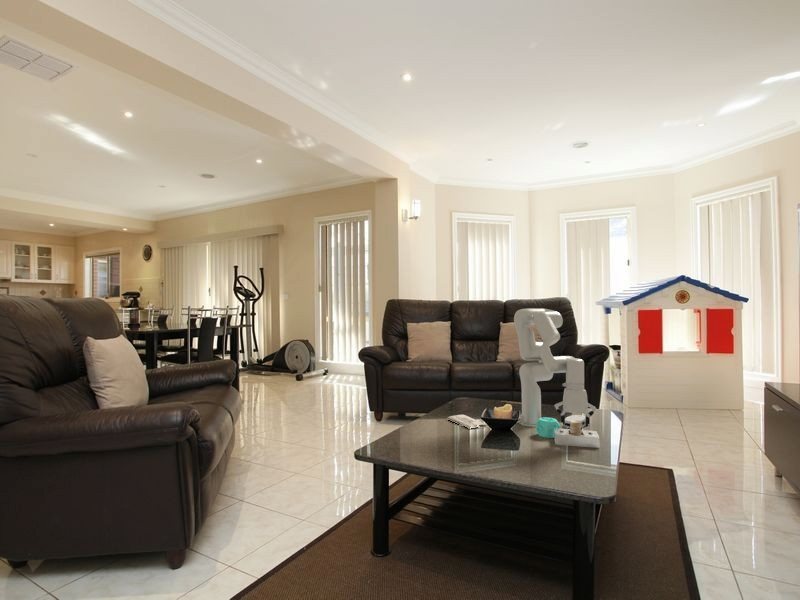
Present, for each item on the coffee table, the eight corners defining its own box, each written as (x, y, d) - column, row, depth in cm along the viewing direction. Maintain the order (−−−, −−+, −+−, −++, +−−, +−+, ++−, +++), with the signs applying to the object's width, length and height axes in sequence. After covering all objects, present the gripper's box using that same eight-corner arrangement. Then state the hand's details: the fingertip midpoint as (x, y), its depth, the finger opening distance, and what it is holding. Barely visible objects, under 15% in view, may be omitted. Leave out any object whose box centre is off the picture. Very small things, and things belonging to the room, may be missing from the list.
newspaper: (445, 421, 238) (445, 416, 238) (465, 418, 243) (464, 414, 243) (466, 432, 217) (466, 427, 217) (487, 429, 222) (487, 424, 222)
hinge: (580, 421, 216) (560, 417, 222) (580, 430, 216) (560, 427, 222) (592, 414, 228) (572, 411, 235) (592, 423, 228) (573, 420, 235)
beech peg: (571, 445, 194) (570, 422, 195) (570, 442, 198) (570, 419, 199) (581, 445, 193) (581, 423, 193) (580, 443, 197) (580, 420, 197)
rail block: (555, 445, 194) (554, 433, 194) (554, 439, 203) (553, 427, 203) (599, 449, 188) (599, 436, 188) (596, 442, 198) (596, 430, 198)
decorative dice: (547, 439, 202) (546, 422, 202) (535, 435, 210) (535, 418, 210) (560, 437, 205) (560, 420, 205) (549, 433, 213) (548, 416, 213)
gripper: (554, 387, 195) (554, 425, 195) (597, 389, 190) (597, 428, 190) (554, 383, 202) (554, 421, 202) (594, 385, 197) (595, 424, 197)
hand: (575, 424), depth 196 cm, fingers open, 9 cm apart
